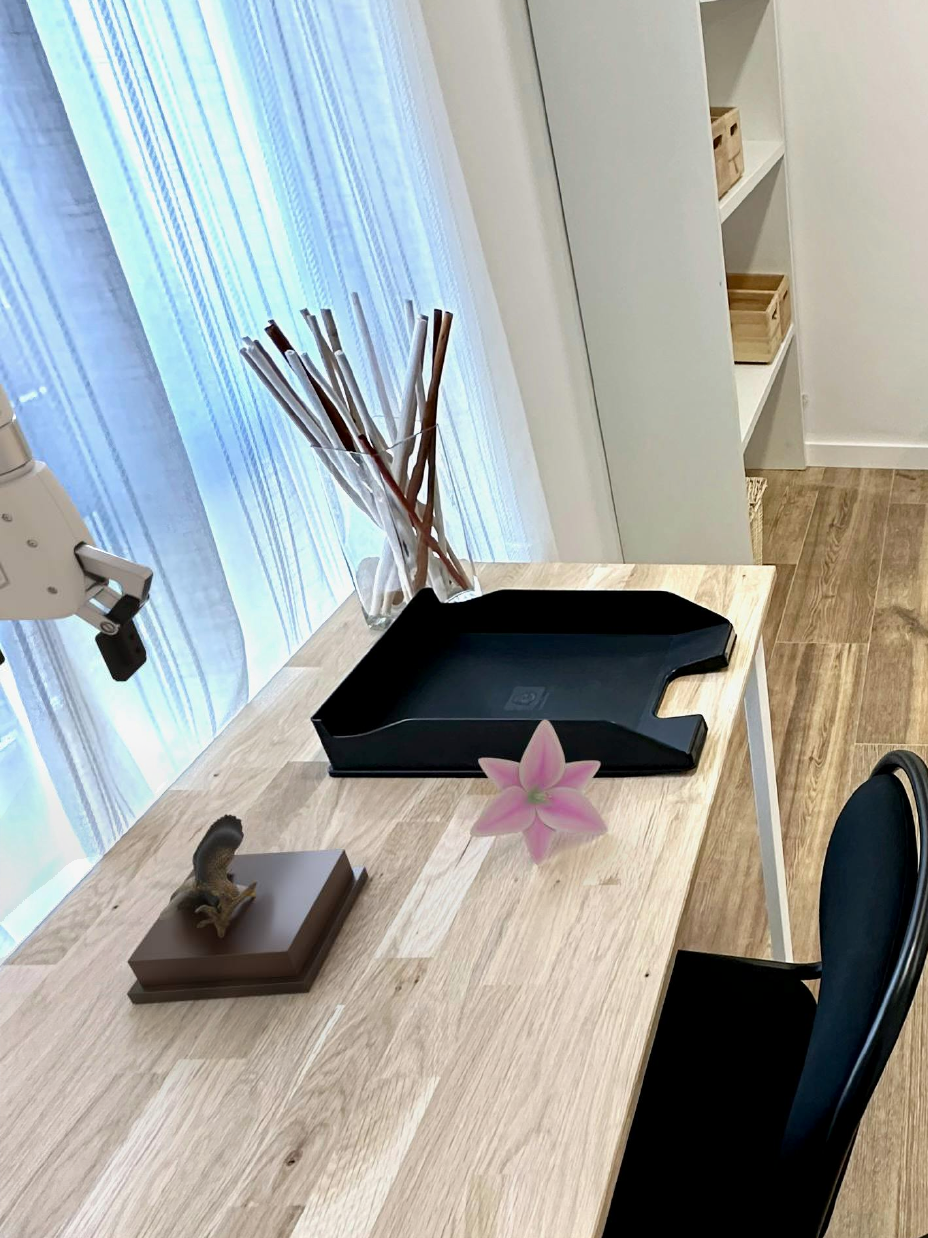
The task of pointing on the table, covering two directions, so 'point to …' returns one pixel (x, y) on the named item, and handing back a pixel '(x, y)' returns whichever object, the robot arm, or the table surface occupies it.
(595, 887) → the table surface
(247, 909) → the display stand
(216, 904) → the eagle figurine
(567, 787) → the lily
